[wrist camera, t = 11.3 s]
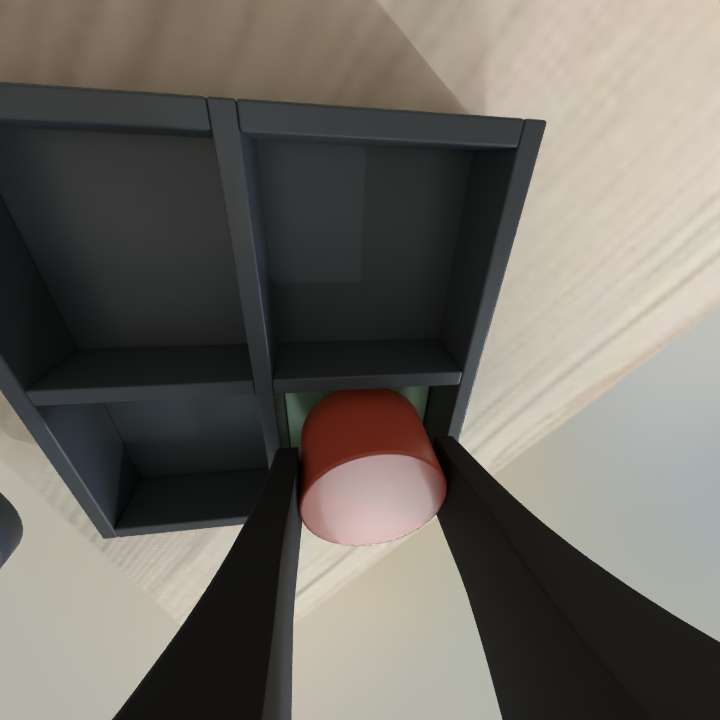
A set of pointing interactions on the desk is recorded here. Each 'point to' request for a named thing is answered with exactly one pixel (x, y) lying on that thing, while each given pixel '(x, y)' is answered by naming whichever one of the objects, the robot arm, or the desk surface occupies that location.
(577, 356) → the desk surface
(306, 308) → the grid
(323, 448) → the cylinder
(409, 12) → the desk surface
